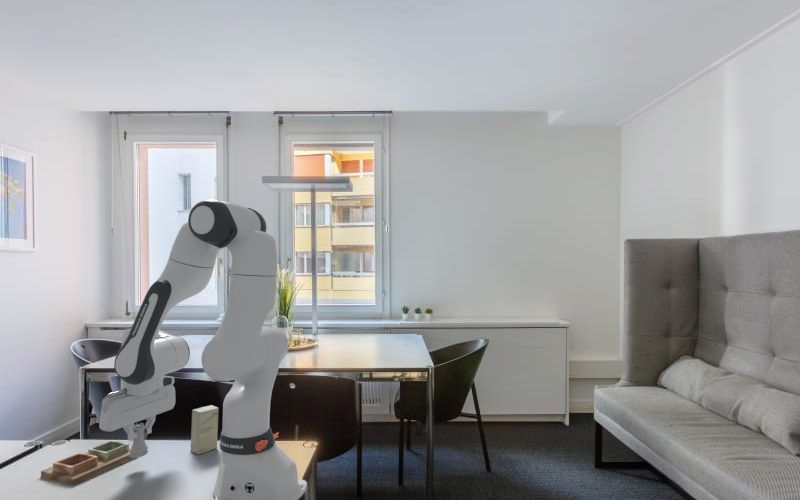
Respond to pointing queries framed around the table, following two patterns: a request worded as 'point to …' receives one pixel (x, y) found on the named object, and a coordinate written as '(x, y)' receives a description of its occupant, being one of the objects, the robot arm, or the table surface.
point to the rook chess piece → (139, 442)
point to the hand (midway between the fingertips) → (139, 436)
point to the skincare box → (204, 429)
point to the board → (88, 463)
